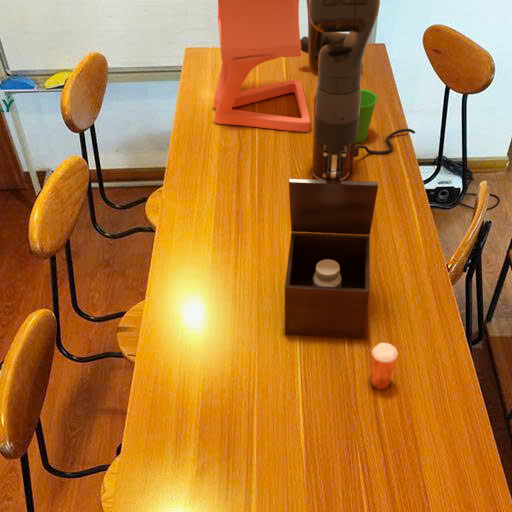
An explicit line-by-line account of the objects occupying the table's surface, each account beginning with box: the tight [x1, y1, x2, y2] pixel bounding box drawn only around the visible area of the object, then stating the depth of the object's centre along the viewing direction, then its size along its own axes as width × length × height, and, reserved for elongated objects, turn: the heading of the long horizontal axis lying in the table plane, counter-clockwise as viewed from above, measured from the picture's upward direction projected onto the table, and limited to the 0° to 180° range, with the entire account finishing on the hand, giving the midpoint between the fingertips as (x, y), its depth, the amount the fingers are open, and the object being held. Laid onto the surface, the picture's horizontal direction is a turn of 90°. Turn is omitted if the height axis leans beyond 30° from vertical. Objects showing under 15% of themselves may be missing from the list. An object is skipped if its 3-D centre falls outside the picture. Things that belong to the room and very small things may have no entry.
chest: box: [284, 231, 371, 340], centre depth 137 cm, size 17×16×12 cm
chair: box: [213, 0, 311, 133], centre depth 178 cm, size 24×26×35 cm
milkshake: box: [368, 342, 399, 390], centre depth 124 cm, size 4×5×10 cm
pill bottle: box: [313, 259, 342, 287], centre depth 137 cm, size 6×6×10 cm
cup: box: [355, 88, 379, 144], centre depth 178 cm, size 9×9×11 cm
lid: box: [288, 178, 379, 236], centre depth 128 cm, size 17×16×1 cm
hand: (331, 199), depth 129 cm, fingers closed
